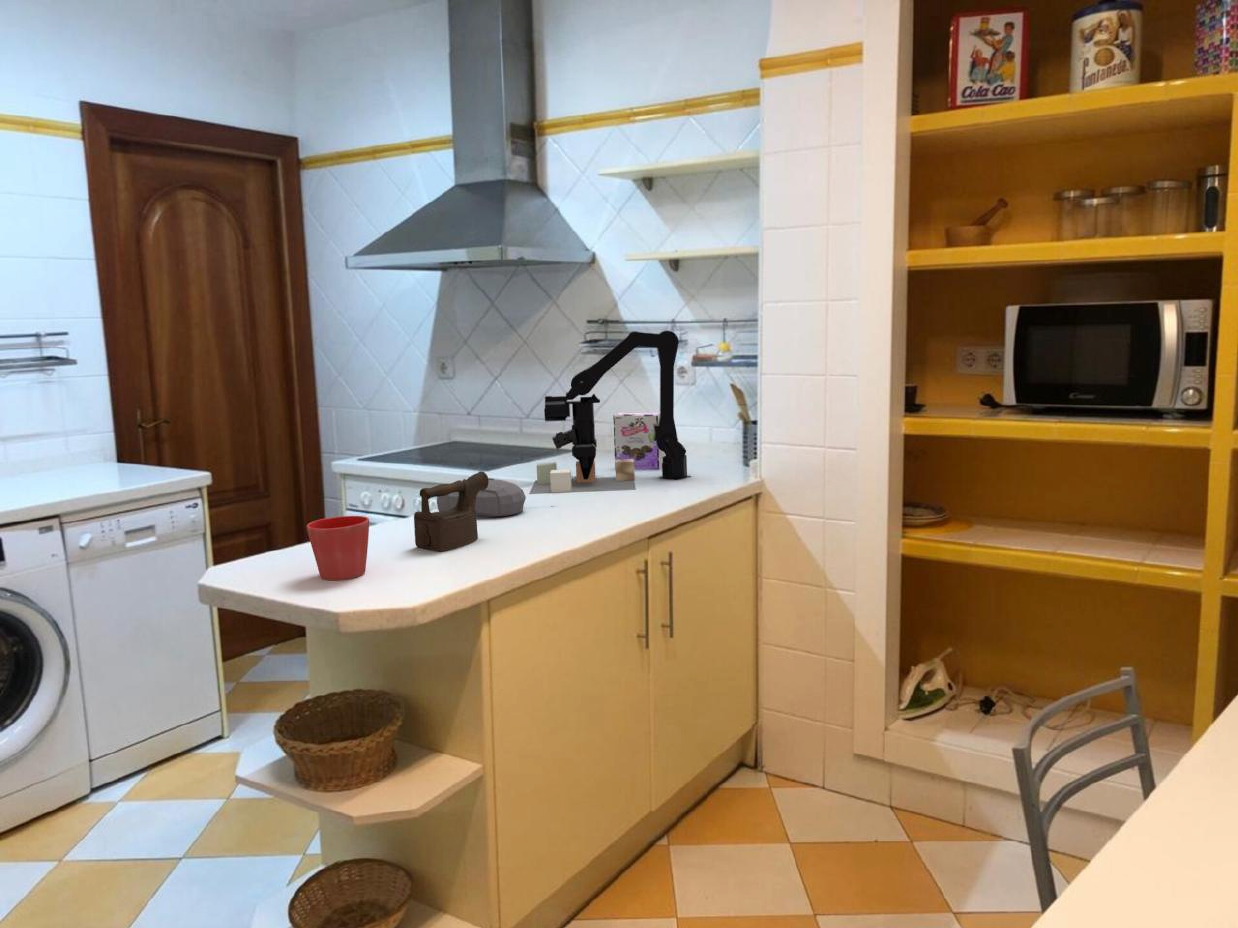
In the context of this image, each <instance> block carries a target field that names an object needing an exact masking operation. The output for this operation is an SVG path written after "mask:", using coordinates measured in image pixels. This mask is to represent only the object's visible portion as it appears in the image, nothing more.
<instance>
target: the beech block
mask: <svg viewBox="0 0 1238 928" xmlns="http://www.w3.org/2000/svg"><path fill="white" fill-rule="evenodd" d="M614 467H615V477H616V481H628V480H634V481H635V477H636V476H635V469H634V459H624V460H615V459H614Z"/></svg>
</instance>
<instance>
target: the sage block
mask: <svg viewBox="0 0 1238 928" xmlns="http://www.w3.org/2000/svg"><path fill="white" fill-rule="evenodd" d="M551 470H558V468H557V462H556V461H553V462H549V461H548V462H537V464H536V478H537V479H536V480H537V484H551V480H550V472H551Z"/></svg>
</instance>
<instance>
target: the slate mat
mask: <svg viewBox="0 0 1238 928" xmlns="http://www.w3.org/2000/svg"><path fill="white" fill-rule="evenodd" d="M571 485H572V489H571V492H555V493H554V494H564V493H565V494H566V493H567V494H568V493H584V492H585V493H588V492H590V493H591V492H611V491H612V492H614V491H635V490H636V489H637V488H636V482H635V480H628V481H616V476H614V477H610V476H609V477H596V480H595V482H579V483H577V480H576V478H571ZM539 494H552V493H551V484H537V479H535V480H534V482H533V485H532V486H531V489H530V491H529V494H528V495H539Z"/></svg>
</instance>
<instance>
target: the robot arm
mask: <svg viewBox="0 0 1238 928" xmlns="http://www.w3.org/2000/svg"><path fill="white" fill-rule="evenodd" d="M637 347H647V348H655V349H656V353H657V358H658V362H659V413H660V417H659V422H658V424H653V426H654V436H653V439H654V441H656V444H657V446H658V448H659V449H660V450H661V451H663V452H664V453H665V456H664V457H662V458H663V463H662V469H661V472H662V474H661V476H658V478H659V479H663V480H665V479H666V480H672V481H679V480H682V479H687V478H688V479H689V478H692V475H688V467H687V465H688V462H687V459H688V458H687V450H686V448H685V446H684V445H683V444H682V443H681V442H679V439H678V434H677V433H678V431H677V427H676V423H675V415H674V414H675V411H674V409H675V408H674V406H675V405H674V404H675V403H674V401H675V399H674V397H675V396H674V394H675V392H674V391H675V387H674V386H675V362H676V357H677V353H678V349H679V348H678V347H679V337H678V335H677V334H676V333H675V332H674V331H671V330H663V331H660V332H659V333H652V332H641V331H635V330H632V331H631V332H630V333H628V335H627V336H626V337H625V338H624V339H623V340H621V341H620V342H619V343H618V344H616V345H615V346H614V347H613V348H612V349H610V350H609V351H608V353H606V354H605V355H604V356H602V357H601V358H600V359H599V360H598V361H596V362H595V363H594V364H592V365H590V366H588V367H586V368H585V369H583V370H581V371H579V372H578V373H576V374H575V375H574V376H573V377H572V379H571V381H570V388H569V391H566V393H565V395H562V396H561V395H560V396H559V395H558V396H554V395H553V396H552V395H545V397H544V411H543V412H544V421H545V423H547V422H549V423H550V422H566V421H567V419H568V418H569V417H571V411H572V424H571V429H568V430H566V431H564V432H562V431H560V432H557V433H555V435H554V436H552V441H553V445H554V447H555V448H556V450H559V449H561V448H562V447H564V446H566V445H567V446H568V445H569V444H572V445H573V446H571V456H573V458H575V459H576V460H577V461H579V463H580V466H581V470H582V474H583V478H584V479H588V477H589V474H590V471H591V468H592V465H593V462H594V461H595V459H596V455H597V446H598V445H597V444H598V443H597V439H596V435H595V431H596V430H595V408H594V406H595V405H594V404H600V402H601V398H599V397H598V396H597V395H596V393H592V395H591V396H587V394H589V393H590V392H591V391H592V390H593V389H594V387H595V386H596V385H597V384H598V383H599V381H600V380H601V379H602V378H603V377H604V375H605V374H607V372H609V370H611V369H612V368H613V367H615V365H617V364H618V363H619V362H620V361H621V360H622V359H624V358H625V357H626V356H628V355H629V354H630V353H631V352H632V351H633V350H634V349H636V348H637ZM578 396H581V397H579V400H574V399H576V398H577V397H578ZM570 405H572V406H570ZM571 408H572V409H571Z"/></svg>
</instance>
